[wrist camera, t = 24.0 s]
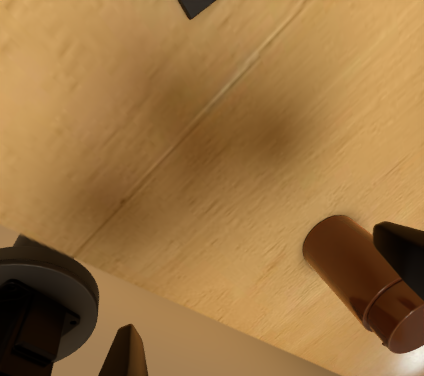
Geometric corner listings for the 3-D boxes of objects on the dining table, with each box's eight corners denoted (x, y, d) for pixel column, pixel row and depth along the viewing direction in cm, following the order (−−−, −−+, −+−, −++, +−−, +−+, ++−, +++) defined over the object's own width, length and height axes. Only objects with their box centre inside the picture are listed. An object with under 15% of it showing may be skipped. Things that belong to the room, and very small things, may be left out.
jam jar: (315, 274, 29) (394, 367, 21) (293, 241, 26) (376, 334, 18) (362, 240, 29) (462, 321, 21) (345, 203, 26) (455, 279, 18)
